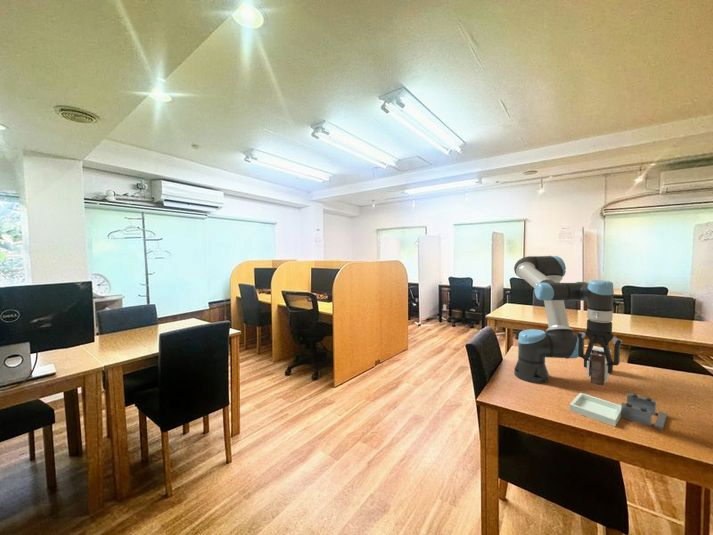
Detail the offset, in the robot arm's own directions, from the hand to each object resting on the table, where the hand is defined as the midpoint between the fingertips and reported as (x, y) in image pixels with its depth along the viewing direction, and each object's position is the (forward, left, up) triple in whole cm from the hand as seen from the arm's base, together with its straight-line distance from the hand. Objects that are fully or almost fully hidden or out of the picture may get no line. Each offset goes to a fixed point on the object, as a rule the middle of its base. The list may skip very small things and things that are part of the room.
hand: (597, 378), depth 114 cm
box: (0, 0, -2) cm, 2 cm away
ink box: (-9, +47, -14) cm, 50 cm away
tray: (0, 0, -14) cm, 14 cm away
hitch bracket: (+12, +9, -14) cm, 21 cm away
